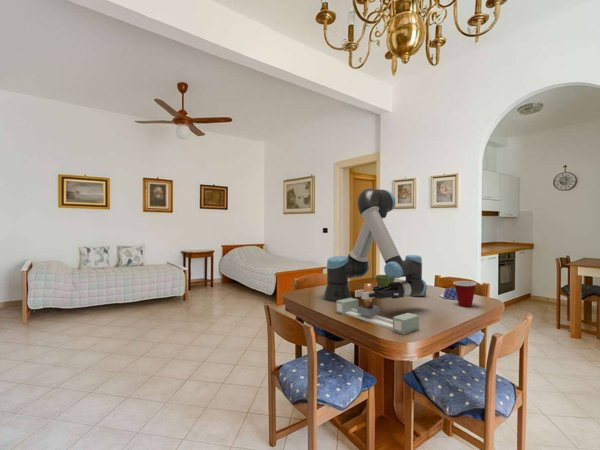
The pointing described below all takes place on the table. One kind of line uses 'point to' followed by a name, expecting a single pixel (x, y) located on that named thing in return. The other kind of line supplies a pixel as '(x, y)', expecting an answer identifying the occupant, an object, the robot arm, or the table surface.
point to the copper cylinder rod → (368, 303)
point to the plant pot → (383, 280)
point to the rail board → (398, 324)
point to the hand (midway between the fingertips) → (358, 294)
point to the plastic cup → (465, 292)
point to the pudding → (449, 293)
